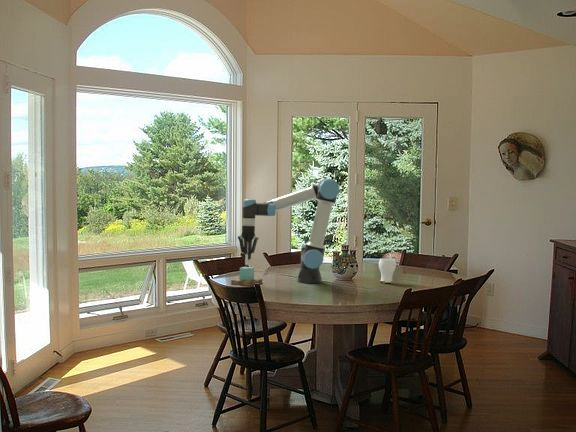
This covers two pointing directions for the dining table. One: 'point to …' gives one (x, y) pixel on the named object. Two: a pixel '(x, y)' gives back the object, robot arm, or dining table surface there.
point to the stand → (246, 282)
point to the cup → (387, 269)
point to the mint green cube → (246, 273)
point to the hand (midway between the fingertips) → (247, 264)
